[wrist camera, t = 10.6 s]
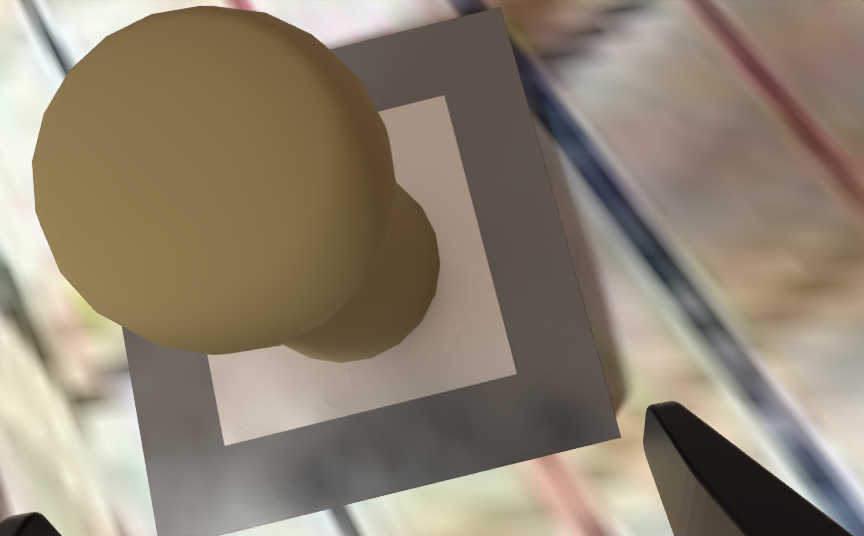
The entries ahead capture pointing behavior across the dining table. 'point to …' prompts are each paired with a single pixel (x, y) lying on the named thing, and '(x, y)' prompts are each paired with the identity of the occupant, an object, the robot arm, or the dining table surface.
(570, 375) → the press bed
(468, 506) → the dining table surface
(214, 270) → the cork
